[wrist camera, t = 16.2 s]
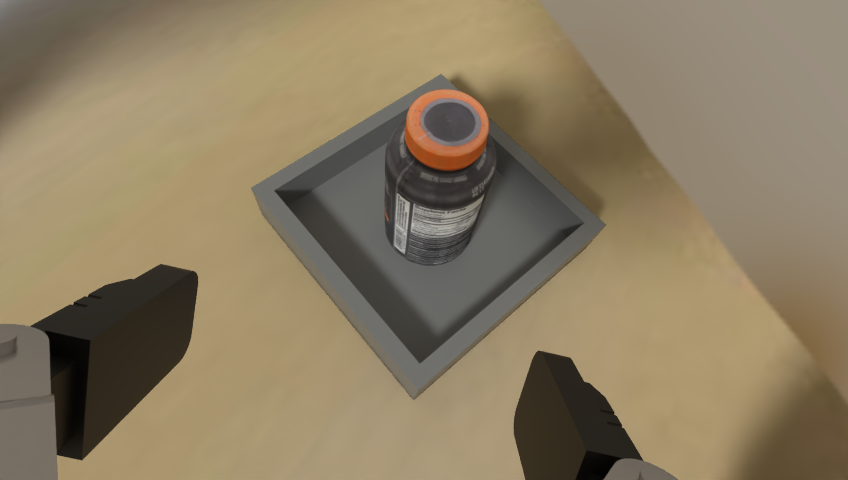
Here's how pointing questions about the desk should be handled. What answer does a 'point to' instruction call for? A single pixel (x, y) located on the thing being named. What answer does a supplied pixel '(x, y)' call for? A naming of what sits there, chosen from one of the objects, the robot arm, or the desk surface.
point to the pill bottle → (437, 177)
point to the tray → (412, 283)
